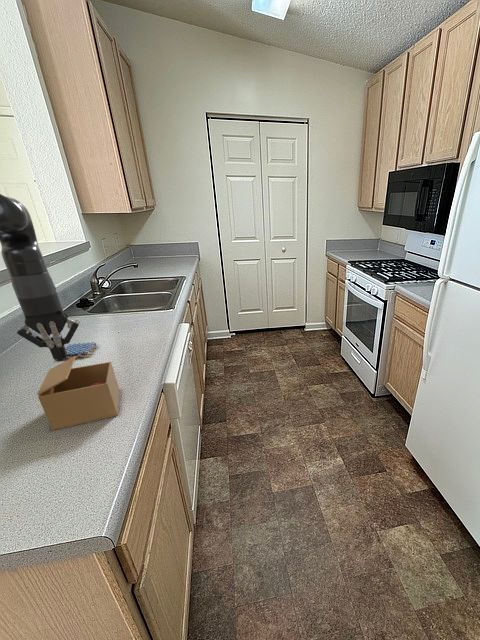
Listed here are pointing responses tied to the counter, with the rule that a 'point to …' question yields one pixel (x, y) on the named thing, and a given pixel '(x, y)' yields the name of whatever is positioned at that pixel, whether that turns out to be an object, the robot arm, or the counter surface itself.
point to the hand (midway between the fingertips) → (61, 359)
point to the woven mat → (80, 350)
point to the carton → (82, 397)
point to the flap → (57, 375)
